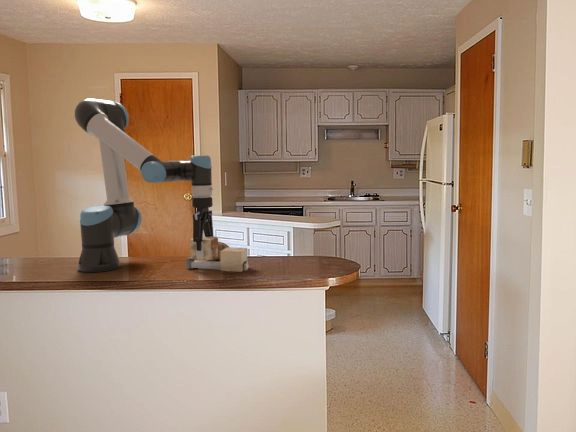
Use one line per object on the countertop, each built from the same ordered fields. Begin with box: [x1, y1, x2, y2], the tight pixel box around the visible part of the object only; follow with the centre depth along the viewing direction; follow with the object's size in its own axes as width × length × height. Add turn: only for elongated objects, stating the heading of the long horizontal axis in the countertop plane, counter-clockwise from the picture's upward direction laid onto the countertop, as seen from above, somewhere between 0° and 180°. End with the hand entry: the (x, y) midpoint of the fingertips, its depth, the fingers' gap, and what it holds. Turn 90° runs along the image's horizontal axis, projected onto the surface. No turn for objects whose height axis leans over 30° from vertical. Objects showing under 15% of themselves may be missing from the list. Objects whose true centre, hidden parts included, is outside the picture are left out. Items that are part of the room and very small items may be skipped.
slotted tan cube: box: [189, 235, 219, 261], centre depth 196 cm, size 9×7×8 cm
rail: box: [186, 247, 249, 273], centre depth 196 cm, size 23×7×8 cm, turn 78°
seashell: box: [210, 241, 231, 261], centre depth 213 cm, size 10×9×10 cm
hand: (204, 256), depth 197 cm, fingers closed on slotted tan cube, 7 cm apart
